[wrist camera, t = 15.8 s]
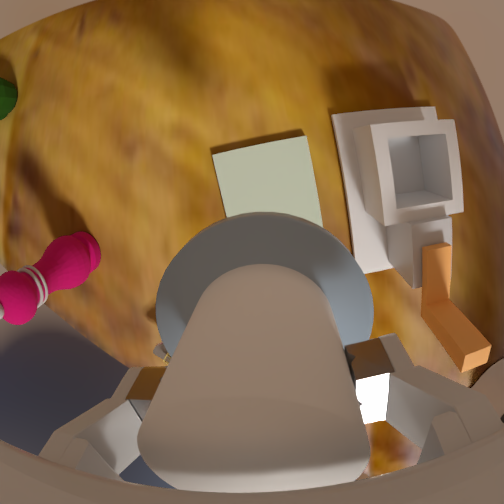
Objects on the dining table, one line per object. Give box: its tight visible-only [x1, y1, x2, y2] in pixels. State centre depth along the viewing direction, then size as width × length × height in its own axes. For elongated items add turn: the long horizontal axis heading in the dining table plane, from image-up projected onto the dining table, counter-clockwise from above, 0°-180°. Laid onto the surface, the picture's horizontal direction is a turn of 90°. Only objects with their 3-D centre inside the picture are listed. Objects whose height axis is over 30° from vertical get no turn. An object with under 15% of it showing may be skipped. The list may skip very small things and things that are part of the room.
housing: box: [331, 107, 464, 289], centre depth 30 cm, size 20×14×9 cm
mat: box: [212, 136, 323, 228], centre depth 36 cm, size 14×11×1 cm
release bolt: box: [421, 242, 491, 373], centre depth 23 cm, size 8×3×10 cm, turn 12°
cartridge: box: [137, 212, 374, 493], centre depth 12 cm, size 8×8×14 cm
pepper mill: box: [0, 231, 101, 325], centre depth 31 cm, size 7×7×20 cm
